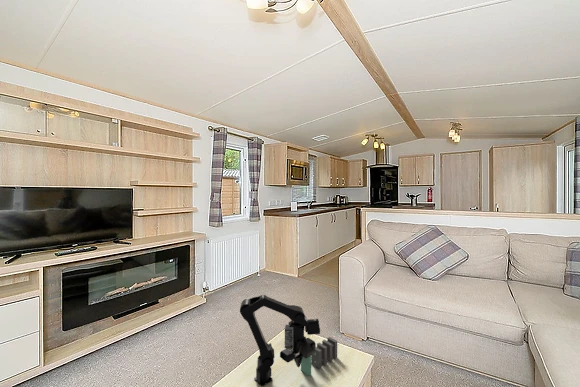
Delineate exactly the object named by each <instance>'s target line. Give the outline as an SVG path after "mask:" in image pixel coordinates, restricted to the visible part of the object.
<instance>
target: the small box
mask: <svg viewBox="0 0 580 387" xmlns="http://www.w3.org/2000/svg"><path fill="white" fill-rule="evenodd" d="M291 336H292V327H289V324H285V327H284V348H287V349H289V348H291V349H293V348H292V347H291V344H292V339H291Z"/></svg>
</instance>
